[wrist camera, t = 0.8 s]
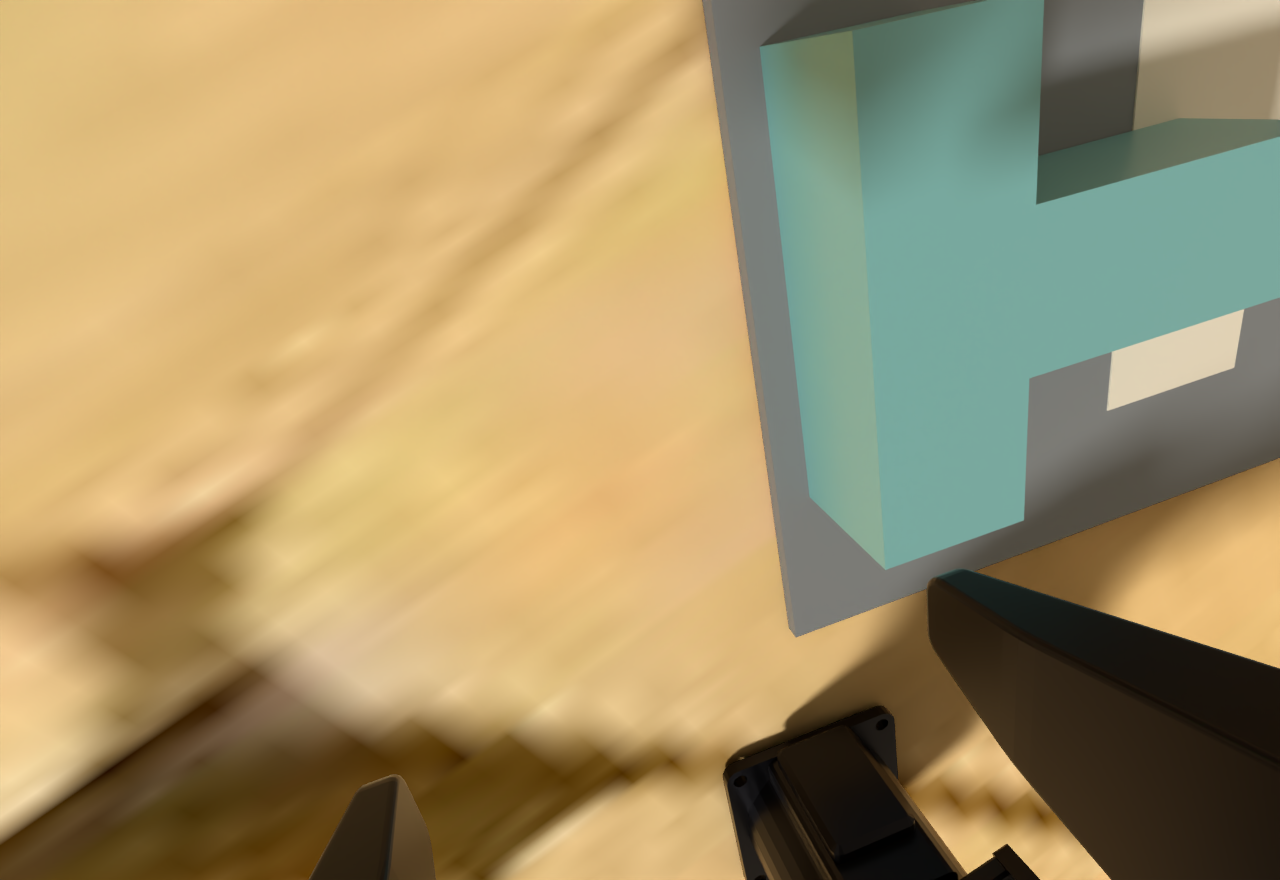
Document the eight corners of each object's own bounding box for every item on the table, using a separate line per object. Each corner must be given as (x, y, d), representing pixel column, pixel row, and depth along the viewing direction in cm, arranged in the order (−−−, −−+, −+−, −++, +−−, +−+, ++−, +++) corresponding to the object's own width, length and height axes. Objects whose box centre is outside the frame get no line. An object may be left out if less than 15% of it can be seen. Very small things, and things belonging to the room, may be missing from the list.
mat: (1401, 402, 29) (1418, 407, 29) (789, 628, 25) (796, 638, 24) (1619, -369, 19) (1650, -380, 19) (672, -220, 15) (681, -231, 15)
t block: (1148, 383, 24) (1275, 430, 21) (809, 496, 22) (885, 570, 19) (1199, -52, 19) (1380, -89, 15) (759, 46, 17) (852, 31, 13)
